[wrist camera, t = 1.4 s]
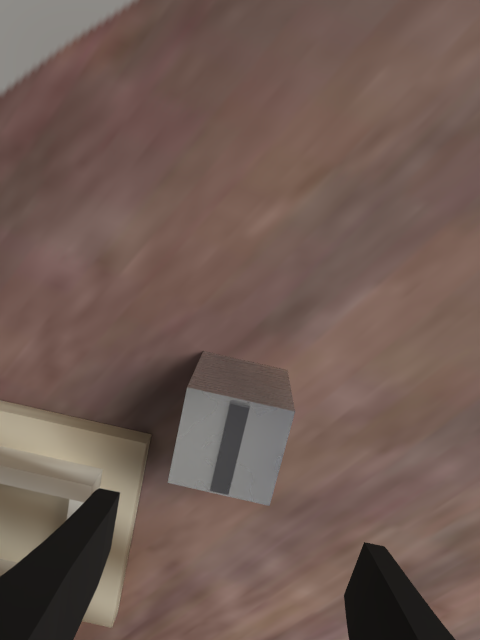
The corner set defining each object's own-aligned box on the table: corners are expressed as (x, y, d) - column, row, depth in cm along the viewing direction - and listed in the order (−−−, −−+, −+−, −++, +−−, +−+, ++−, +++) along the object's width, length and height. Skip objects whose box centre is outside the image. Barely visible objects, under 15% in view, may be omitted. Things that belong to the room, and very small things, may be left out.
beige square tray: (117, 612, 26) (102, 653, 23) (-78, 568, 26) (-114, 604, 23) (151, 434, 23) (138, 459, 21) (-68, 384, 23) (-107, 404, 21)
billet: (267, 445, 23) (269, 508, 18) (187, 427, 23) (166, 485, 18) (287, 369, 22) (295, 413, 17) (203, 350, 22) (186, 389, 17)
